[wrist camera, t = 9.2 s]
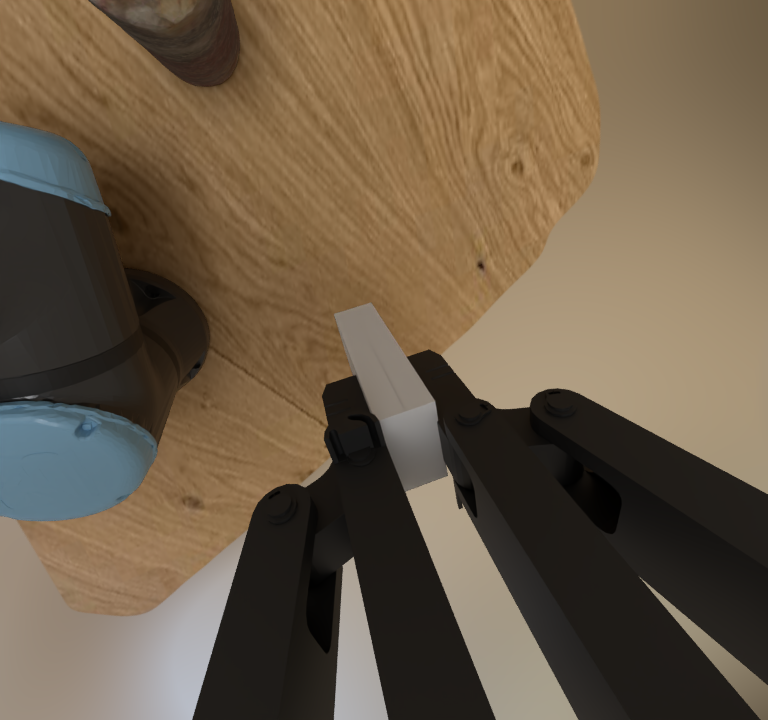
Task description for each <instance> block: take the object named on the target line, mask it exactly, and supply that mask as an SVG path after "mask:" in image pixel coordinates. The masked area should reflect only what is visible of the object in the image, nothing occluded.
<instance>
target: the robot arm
mask: <svg viewBox="0 0 768 720" xmlns="http://www.w3.org/2000/svg"><path fill="white" fill-rule="evenodd" d="M108 216H111V212H110V210H109V208H108V207H107V206H106V205H104V202H103V199H102V196H101V194H100V191H99V188H98V185H97V182H96V179H95V177H94V174H93V171H92V168H91V165H90V163H89V161H88V160H87V158H86V156H85V155H84V154H83V152H82V151H81V150H80V149H79V148H78V147H76V146H75V145H74V144H72V143H71V142H70V141H68V140H67V139H65V138H63V137H61V136H59V135H56V134H54V133H51V132H47V131H43V130H39V129H35V128H31V127H26V126H21V125H17V124H12V123H7V122H2V121H0V516H4V517H9V518H13V519H17V520H26V521H59V520H68V519H75V518H80V517H85V516H89V515H93V514H96V513H99V512H101V511H104V510H107V509H109V508H111V507H113V506H115V505H117V504H119V503H120V502H122V501H123V500H125V499H126V498H127V497H128V496H129V495H130V494H132V493H133V491H135V490H136V489H137V488H138V487H139V485H140V484H141V483H142V481H143V479H144V477H145V476H146V474H147V472H148V470H149V468H150V466H151V464H152V463H153V462H154V460H155V458H156V456H157V452H158V450H157V447H158V444H159V441H160V438H161V436H162V433H163V430H164V427H165V424H166V421H167V418H168V415H169V412H170V409H171V406H172V403H173V400H174V397H175V394H176V392H177V391H178V390H179V389H181V388H182V387H183V386H184V385H186V384H187V383H188V382H189V381H191V380H192V379H193V378H194V377H195V376H196V374H197V373H198V372H199V370H200V369H201V367H202V365H203V363H204V361H205V358H206V355H207V351H208V348H209V340H210V335H209V328H208V324H207V321H206V318H205V316H204V314H203V312H202V310H201V309H200V307H199V306H198V304H197V303H196V302H195V301H194V300H193V299H192V297H191V296H190V295H189V294H187V293H186V292H185V291H184V290H183V289H181V288H180V287H179V286H177V285H176V284H174V283H172V282H171V281H169V280H167V279H165V278H163V277H160V276H158V275H155V274H152V273H149V272H145V271H141V270H135V269H124V268H123V265H122V261H121V258H120V255H119V251H118V248H117V245H116V242H115V238H114V235H113V232H112V228H111V225H110V222H109V218H108ZM334 316H335V320H336V323H337V326H338V329H339V332H340V336H341V339H342V342H343V345H344V349H345V352H346V355H347V358H348V361H349V365H350V368H351V371H352V374H353V376H351V377H348V378H345V379H342V380H339V381H336V382H333V383H330V384H327V385H326V387H325V390H324V392H323V395H322V398H323V403H324V407H325V412H326V416H327V421H328V427H327V429H326V430H325V433H324V441H325V444H326V446H327V448H328V451H329V453H330V456H331V458H332V460H333V461H332V463H331V465H330V467H329V469H328V470H327V471H326V472H325V473H324V474H323V475H322V476H321V477H320V478H319V479H318V480H316V481H315V482H313V483H312V484H310V485H309V486H307V487H306V488H305V487H302V486H300V485H298V484H286V485H283V486H280V487H276V488H275V489H273V490H272V491H270V492H269V493H267V494H266V495H265V496H264V497H263V498H262V499H261V500H260V501H259V502H258V504H257V506H256V508H255V510H254V512H253V514H252V518H251V521H250V524H249V528H248V531H247V535H246V538H245V542H244V545H243V548H242V552H241V555H240V559H239V562H238V566H237V569H236V572H235V576H234V579H233V582H232V586H231V589H230V593H229V596H228V600H227V603H226V606H225V610H224V613H223V617H222V620H221V623H220V627H219V631H218V634H217V637H216V640H215V644H214V647H213V651H212V654H211V658H210V661H209V664H208V668H207V671H206V675H205V678H204V682H203V685H202V688H201V692H200V695H199V698H198V702H197V705H196V709H195V712H194V716H193V719H192V720H334V707H335V690H336V673H337V656H338V637H339V623H340V622H339V621H340V606H341V605H340V604H341V589H342V588H341V587H342V572H343V566H342V565H344V564H345V563H346V562H347V561H349V560H350V559H351V558H352V557H354V560H355V565H356V569H357V574H358V579H359V584H360V588H361V593H362V597H363V602H364V607H365V612H366V616H367V621H368V625H369V630H370V635H371V640H372V644H373V649H374V654H375V658H376V663H377V667H378V672H379V677H380V682H381V687H382V691H383V696H384V701H385V705H386V710H387V714H388V719H389V720H496V719H495V716H494V714H493V712H492V709H491V706H490V704H489V701H488V699H487V696H486V694H485V691H484V689H483V687H482V684H481V681H480V679H479V676H478V674H477V671H476V669H475V666H474V664H473V661H472V659H471V656H470V654H469V651H468V649H467V646H466V644H465V641H464V639H463V636H462V634H461V631H460V629H459V626H458V624H457V621H456V619H455V617H454V614H453V611H452V609H451V606H450V603H449V601H448V599H447V596H446V594H445V591H444V588H443V586H442V583H441V581H440V578H439V576H438V574H437V571H436V569H435V566H434V564H433V561H432V559H431V556H430V553H429V551H428V548H427V546H426V543H425V541H424V538H423V536H422V533H421V531H420V528H419V526H418V523H417V521H416V518H415V516H414V513H413V511H412V508H411V506H410V503H409V501H408V498H407V496H406V493H405V492H406V491H408V490H411V489H414V488H416V487H419V486H422V485H424V484H427V483H430V482H432V481H435V480H438V479H440V478H443V477H446V476H448V473H447V468H446V465H447V467H448V469H449V470H450V472H451V474H452V476H453V479H454V487H455V492H456V499H457V504H458V507H459V509H461V508H463V506H462V503H463V505H464V507H465V509H466V511H467V513H468V515H469V517H470V518H471V520H472V522H473V524H474V526H475V528H476V530H477V531H478V533H479V535H480V537H481V539H482V541H483V543H484V544H485V546H486V548H487V550H488V552H489V554H490V556H491V557H492V559H493V561H494V563H495V565H496V567H497V569H498V571H499V572H500V574H501V576H502V578H503V580H504V582H505V584H506V585H507V587H508V589H509V591H510V593H511V595H512V597H513V599H514V600H515V602H516V604H517V606H518V608H519V610H520V612H521V613H522V615H523V617H524V619H525V621H526V623H527V624H528V626H529V628H530V630H531V632H532V634H533V636H534V638H535V639H536V641H537V643H538V645H539V647H540V649H541V651H542V653H543V654H544V656H545V658H546V660H547V662H548V664H549V666H550V667H551V669H552V671H553V673H554V675H555V677H556V678H557V680H558V682H559V684H560V686H561V688H562V690H563V692H564V694H565V695H566V697H567V699H568V701H569V703H570V705H571V706H572V708H573V710H574V712H575V714H576V716H577V718H578V719H579V720H760V719H759V717H758V716H757V715H756V714H755V713H754V712H753V710H752V709H751V708H750V707H749V706H748V704H747V703H746V702H745V701H744V700H743V699H742V697H741V696H740V695H739V694H738V693H737V692H736V690H735V689H734V688H733V687H732V686H731V684H730V683H729V682H728V681H727V680H726V679H725V678H724V676H723V675H722V674H721V673H720V671H719V670H718V669H717V668H716V667H715V666H714V664H713V663H712V662H711V661H710V660H709V659H708V657H707V656H706V655H705V654H704V653H703V652H702V650H701V649H700V648H699V647H698V646H697V645H696V643H695V642H694V641H693V640H692V639H691V637H690V636H689V635H688V634H687V633H686V632H685V630H684V629H683V628H682V627H681V626H680V625H679V623H678V622H677V621H676V620H675V619H674V617H673V616H672V615H671V614H670V613H669V612H668V610H667V609H666V608H665V607H664V606H663V605H662V603H661V602H660V601H659V600H658V599H657V598H656V596H655V595H654V594H653V593H652V592H651V590H650V589H649V588H648V587H647V586H646V584H645V583H644V582H643V581H642V580H641V579H640V577H641V578H642V579H643V580H644V581H645V582H647V583H648V584H649V585H650V586H651V587H652V588H654V589H655V590H656V591H657V592H658V593H659V594H661V595H662V596H663V597H664V598H665V599H666V600H668V601H669V602H670V603H671V604H672V605H674V606H675V607H676V608H677V609H678V610H680V611H681V612H682V613H683V614H684V615H686V616H687V617H688V618H689V619H690V620H691V621H692V622H694V623H695V624H696V625H697V626H698V627H700V628H701V629H702V630H703V631H704V632H706V633H707V634H708V635H709V636H710V637H711V638H713V639H714V640H715V641H716V642H717V643H719V644H720V645H721V646H722V647H723V648H725V649H726V650H727V651H728V652H729V653H730V654H732V655H733V656H734V657H735V658H736V659H737V660H739V661H740V662H741V663H742V664H743V665H745V666H746V667H747V668H748V669H749V670H750V671H752V672H753V673H754V674H756V676H758V677H759V678H760V679H761V680H763V682H765V683H766V684H767V685H768V494H766V493H764V492H762V491H760V490H759V489H757V488H755V487H753V486H751V485H749V484H747V483H745V482H744V481H742V480H740V479H738V478H736V477H734V476H732V475H730V474H729V473H727V472H725V471H723V470H721V469H719V468H717V467H715V466H714V465H712V464H710V463H708V462H706V461H704V460H702V459H700V458H699V457H697V456H695V455H693V454H691V453H689V452H687V451H685V450H684V449H682V448H680V447H678V446H676V445H674V444H672V443H670V442H668V441H667V440H665V439H663V438H661V437H659V436H657V435H655V434H654V433H652V432H650V431H648V430H646V429H644V428H642V427H640V426H639V425H637V424H635V423H633V422H631V421H629V420H627V419H625V418H624V417H622V416H620V415H618V414H616V413H614V412H612V411H610V410H609V409H607V408H605V407H603V406H601V405H599V404H597V403H595V402H594V401H592V400H590V399H587V398H586V397H584V396H582V395H580V394H578V393H576V392H573V391H570V390H565V389H558V388H557V389H547V390H544V391H542V392H539V393H538V394H536V395H535V396H534V397H533V398H532V400H531V403H530V407H527V408H517V409H496V408H495V407H494V406H493V405H491V404H490V403H489V402H487V401H484V400H481V399H477V398H475V397H474V396H473V394H472V393H471V392H470V391H469V389H468V388H467V387H466V386H465V384H464V383H463V382H462V381H461V379H460V378H459V377H458V376H457V375H456V373H454V371H453V370H452V368H451V367H450V366H448V363H447V362H446V361H445V360H444V359H443V357H442V356H441V355H439V354H437V353H435V352H433V351H431V350H426V351H423V352H420V353H417V354H414V355H411V356H408V357H406V356H405V354H404V352H403V351H402V349H401V348H400V346H399V345H398V343H397V342H396V340H395V339H394V337H393V335H392V334H391V332H390V331H389V329H388V328H387V326H386V325H385V323H384V322H383V320H382V318H381V317H380V315H379V314H378V312H377V311H376V309H375V308H374V306H373V305H372V303H368V304H365V305H361V306H358V307H355V308H352V309H348V310H345V311H342V312H339V313H336V314H334Z"/></svg>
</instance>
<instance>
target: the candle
mask: <svg viewBox="0 0 768 720" xmlns="http://www.w3.org/2000/svg"><path fill="white" fill-rule="evenodd" d="M89 1H90V2H91V3H92V4H93V5H94V6H95V7H97V8H98V9H99V10H101V11H102V12H103V13H104V14H106V15H107V16H108V17H109V18H110V19H111V20H113V21H114V22H115V23H116V24H117V25H119V26H120V27H121V28H122V29H123V30H124V31H125V32H126V33H128V34H129V35H130V36H131V37H132V38H134V39H135V40H136V41H137V42H138V43H139V44H141V45H142V46H143V47H144V48H145V49H147V50H148V51H149V52H150V53H151V54H152V55H153V56H154V57H155V58H156V59H157V60H159V61H160V62H161V63H162V64H163V65H164V66H165V67H166V68H168V69H169V70H170V71H171V72H172V73H174V74H175V75H176V76H178V77H179V78H180V79H182V80H183V81H185V82H188V83H190V84H192V85H195V86H213V85H218V84H221V83H222V82H224V81H225V80H226V79H227V78H229V77H230V76H231V74H232V73H233V71H234V69H235V67H236V65H237V62H238V57H239V51H240V39H239V31H238V26H237V22H236V19H235V15H234V10H233V7H232V4H231V1H230V0H89Z"/></svg>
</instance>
